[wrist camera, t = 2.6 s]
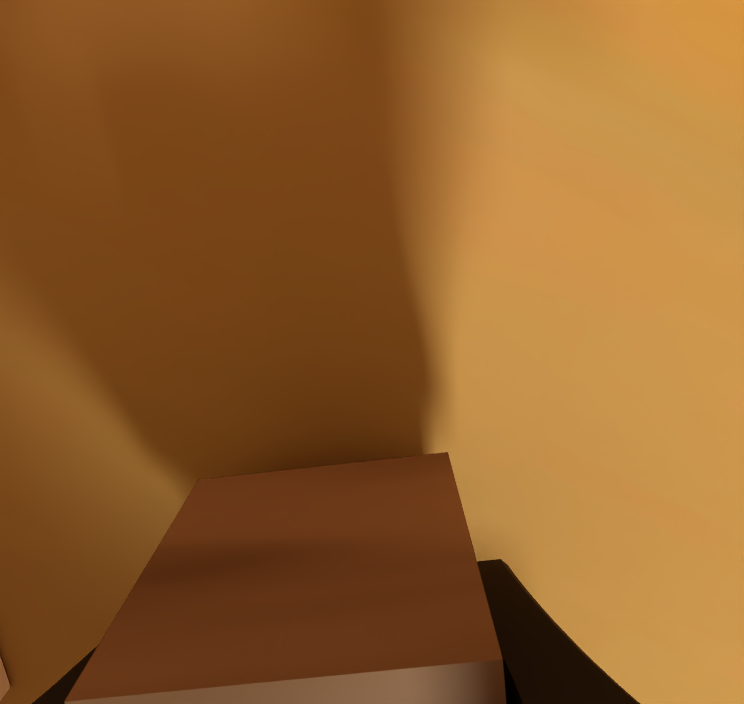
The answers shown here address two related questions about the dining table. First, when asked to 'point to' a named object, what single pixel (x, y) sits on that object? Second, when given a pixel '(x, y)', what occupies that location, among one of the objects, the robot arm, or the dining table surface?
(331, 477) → the walnut block
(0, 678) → the card
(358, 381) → the dining table surface
